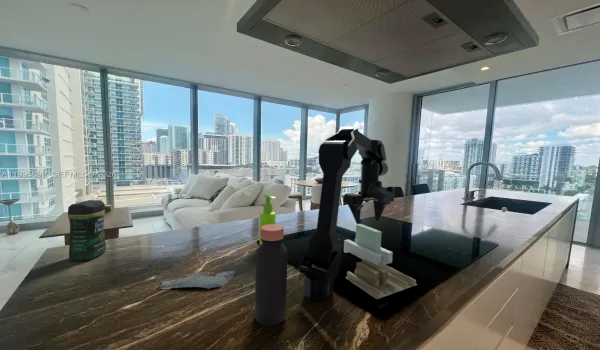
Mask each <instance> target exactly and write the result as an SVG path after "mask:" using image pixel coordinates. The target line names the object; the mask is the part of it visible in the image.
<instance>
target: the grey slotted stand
mask: <svg viewBox="0 0 600 350" xmlns="http://www.w3.org/2000/svg"><path fill="white" fill-rule="evenodd" d="M355 241H356V237H355V238H354V241H353V240H351V239H344V240H343V252H344V253H345V254H348V253H350V254H351V255H353V256H355V257H357V258H359V259H361V261H362V260H368V261H370V262H372V263H374V264H375V265H377V266H379V267H380V263H383V264H385V265H388V264H392V263H393V254H394V253H393V251H391V250H388V249H386V248H383V247H382V246H381V250H380V254H378V253H376V252H374V251H372V250H370V249H368V248H366V247H363V246H361V245H359V244H357V243H355Z"/></svg>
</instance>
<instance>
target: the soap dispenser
mask: <svg viewBox="0 0 600 350" xmlns="http://www.w3.org/2000/svg"><path fill="white" fill-rule="evenodd" d="M263 197H265V202H264V203H263V211H261V212H259V246H260V245H261V244H262V241H261V237H260V236H261V234H260V233H261V227H262V226H264V225H269V224H275V225H276V212H275V211H273V203H272V202H271V200H272V199H273V200H274V199H277V198H276V196H274V195H272V194H265V195H263Z"/></svg>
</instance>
